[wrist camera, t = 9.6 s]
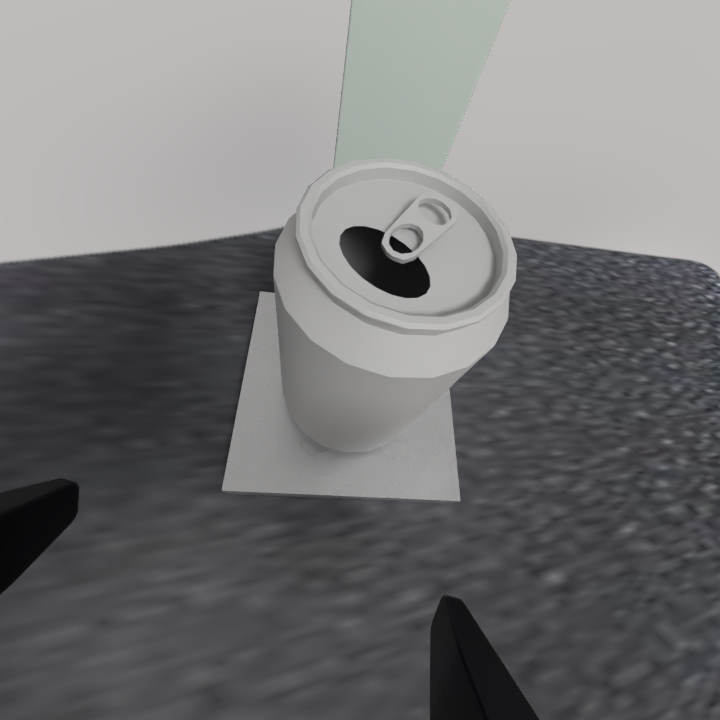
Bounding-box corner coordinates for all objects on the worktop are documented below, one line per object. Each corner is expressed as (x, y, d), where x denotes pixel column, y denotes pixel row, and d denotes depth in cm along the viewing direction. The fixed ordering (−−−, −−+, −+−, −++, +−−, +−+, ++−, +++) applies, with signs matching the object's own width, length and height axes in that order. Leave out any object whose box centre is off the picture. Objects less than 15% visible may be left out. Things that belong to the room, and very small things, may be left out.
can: (253, 388, 19) (202, 204, 8) (345, 312, 22) (393, 109, 12) (354, 487, 17) (447, 417, 7) (437, 390, 21) (586, 241, 10)
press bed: (449, 503, 19) (460, 501, 18) (227, 493, 18) (221, 490, 16) (434, 325, 25) (441, 313, 23) (262, 305, 23) (260, 291, 22)
